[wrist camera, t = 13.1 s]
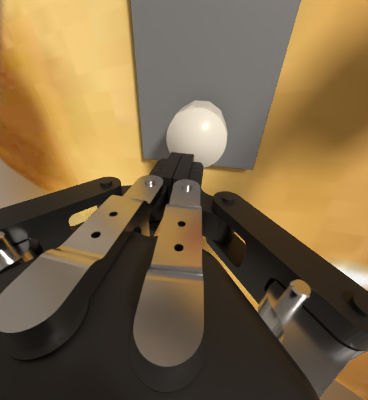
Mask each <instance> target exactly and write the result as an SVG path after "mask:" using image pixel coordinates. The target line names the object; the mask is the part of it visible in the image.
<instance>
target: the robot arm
mask: <svg viewBox="0 0 368 400" xmlns="http://www.w3.org/2000/svg"><path fill="white" fill-rule="evenodd" d="M203 168H204V166H203V165H202V163H201V162H194V154H186V153H177V152H171V154H170V155H169V157H168V159H165V158H163V159H161V160H159V161H158V162H157V163H156V165H155V166H154V168H153V169H152V171H151V172H150V174H149V175H146V176H142V177H140V178H139V179H138V180H137V181H136V182H135V183H134V184H133V185H130V186H121V181H120V180H119V179H118V178H115V177H103V178H99V179H96V180H93V181H90V182H86V183H83V184H80V185H76V186H73V187H70V188H67V189H63V190H60V191H57V192H54V193H50V194H47V195H44V196H41V197H37V198H34V199H31V200H27V201H24V202H21V203H18V204H14V205H11V206H8V207H5V208H1V209H0V400H320V399H319V398H320V397H321V396H322V394H323V393H324V392H325V391H326V389H327V388H328V387H329V386H330V384H331V383H332V382H333V380H334V379H335V378H336V377H337V376H338V374H339V373H340V372H341V371H342V369H343V368H344V367H345V366H346V364H347V363H348V362H349V361H350V360H352V359H354V358H356V357H357V356H359V355H361V354H363V353H365V352H367V351H368V291H367V290H365V289H364V288H363V287H361V286H360V285H359V284H357V283H356V282H355V281H353V280H352V279H350V278H349V277H348V276H346V275H345V274H344V273H342V272H341V271H340V270H338V269H337V268H336V267H334V266H333V265H332V264H330V263H329V262H327V261H326V260H325V259H323V258H322V257H321V256H319V255H318V254H317V253H315V252H314V251H313V250H311V249H310V248H309V247H307V246H306V245H305V244H303V243H302V242H300V241H299V240H298V239H296V238H295V237H294V236H292V235H291V234H290V233H288V232H287V231H286V230H284V229H283V228H282V227H280V226H279V225H278V224H276V223H275V222H273V221H272V220H271V219H269V218H268V217H267V216H265V215H264V214H263V213H261V212H260V211H259V210H257V209H256V208H255V207H253V206H252V205H251V204H249V203H248V202H246V201H245V200H244V199H242V198H241V197H240V196H238V195H237V194H234V193H231V192H218V193H216V194H215V195H214V197H213V196H210V195H208V194H206V193H205V192H203V191H202V189H201V184H202V176H203ZM96 205H97V208H98V209H97V210H96V211H95V212H94V213H93V214H92V215H91V216H90V217H89V218H88V219H87V220H86V221H85V222H82V223H80V224H78V225H75V226H70V225H69V222H68V221H69V218H70V217H71V216H72V215H73V214H75V213H78V212H80V211H83V210H85V209H88V208H91V207H93V206H96ZM234 232H236V233H237V234H238V235H239V236H240V237H241V238H242V239H243V240H244V241H245V243H246V244H245V243H244V242H243V241H242V240H241V239H239V238H238V237H237V236H236V235H235V234H234ZM158 233H159V235H158ZM202 235H203V236H205V237H206V241H207V243H208V244H209V246H210V247H211V248H212V249H213V250H214V251H215V253H216V254H217V255H218V256H219V257H220V259H221V260H222V261H223V262H224V263H225V265H226V266H227V267H228V268H229V269H230V271H231V272H232V273H233V274H234V275H235V277H236V278H237V279H238V280H239V281H240V282H241V284H242V285H243V286H244V287H245V288H246V290H247V291H248V292H249V293H250V294H251V296H252V297H253V298H254V299H255V300H256V302H257V303H258V304H259V306H258V312H257V311H256V310H255V308H254V307H253V306H252V304H251V303H250V302H249V301H248V299H247V298H246V297H245V295H244V294H243V293H242V291H241V290H240V289H239V287H238V286H237V285H236V284H235V282H234V281H233V280H232V278H231V277H230V276H229V274H228V273H227V272H226V270H225V269H224V268H223V267H222V265H221V264H220V263H219V262H218V260H217V259H216V258H215V257H214V256H212V255H211V254H210V253H208V252H207V251H205V250H203V249H202ZM29 238H31V239H29ZM258 313H259V314H258Z"/></svg>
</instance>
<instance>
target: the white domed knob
mask: <svg viewBox="0 0 368 400" xmlns="http://www.w3.org/2000/svg"><path fill="white" fill-rule="evenodd" d="M166 141H167V147H168V150H169V152H170V154H171V152H177V153H186V154H194V162H201V163H202V165H203V166H204V168H206V167H209V166H211V165H212V164H214V163H215V162H216V161H218V160H219V158H220V157H221V156H222V154H223V152H224V150H225V147H226V143H227V128H226V123H225V120H224V117H223V115H222V112H221V110H220V109H219V108H217V107H216V106H215V105H214V104H212V103H211V102H210V101H198V100H195V101H193V102H191V103H189V104H188V105H186V106H184V107H182V108H181V109H180V111H179V112H178V113H177V114H176V115H175V117H174V119H173V120H172V121H171V123H170V125H169V127H168V130H167V136H166Z"/></svg>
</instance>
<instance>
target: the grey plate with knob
mask: <svg viewBox="0 0 368 400" xmlns="http://www.w3.org/2000/svg"><path fill="white" fill-rule="evenodd" d="M300 2H301V0H131V12H132V24H133V37H134V49H135V61H136V73H137V86H138V98H139V110H140V122H141V134H142V147H143V158H145V159H155V160H161V159H163V158H165V159H168V157H169V155H170V152H169V150H168V147H167V141H166V136H167V130H168V127H169V125H170V123H171V121H172V120H173V119H174V117H175V115H176V114H177V113H178V112H179V111H180V109H181V108H182V107H184V106H186V105H188V104H189V103H191V102H193V101H195V100H198V101H210V102H211V103H212V104H214V105H215V106H216V107H217V108H219V109H220V110H221V112H222V115H223V117H224V120H225V123H226V128H227V143H226V147H225V150H224V152H223V154H222V156H221V157H220V158H219V160H218V161H216V162H215V163H214V164H212V166H221V167H231V168H240V169H250V170H253V167H254V163H255V160H256V156H257V153H258V149H259V146H260V142H261V139H262V135H263V132H264V128H265V125H266V121H267V118H268V114H269V111H270V107H271V104H272V100H273V97H274V93H275V90H276V86H277V82H278V79H279V75H280V72H281V68H282V65H283V61H284V58H285V54H286V51H287V47H288V44H289V40H290V37H291V33H292V30H293V26H294V23H295V19H296V16H297V12H298V9H299V5H300Z"/></svg>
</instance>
